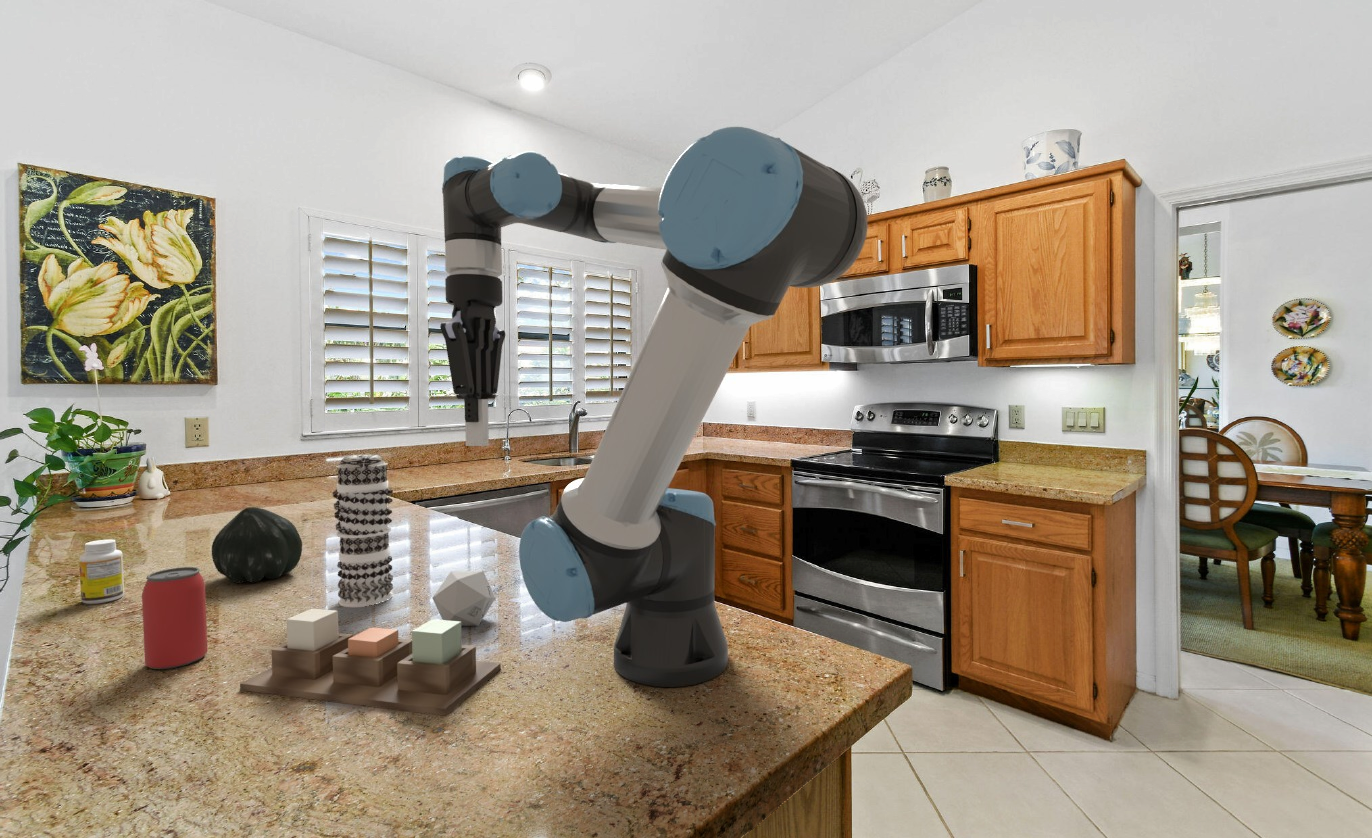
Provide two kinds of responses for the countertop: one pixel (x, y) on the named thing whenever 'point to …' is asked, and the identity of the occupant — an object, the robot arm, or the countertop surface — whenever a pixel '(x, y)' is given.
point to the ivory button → (312, 629)
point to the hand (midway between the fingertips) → (477, 445)
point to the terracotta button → (373, 642)
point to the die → (464, 597)
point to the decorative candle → (363, 531)
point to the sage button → (436, 641)
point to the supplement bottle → (101, 572)
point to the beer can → (174, 618)
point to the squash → (256, 546)
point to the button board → (373, 677)
